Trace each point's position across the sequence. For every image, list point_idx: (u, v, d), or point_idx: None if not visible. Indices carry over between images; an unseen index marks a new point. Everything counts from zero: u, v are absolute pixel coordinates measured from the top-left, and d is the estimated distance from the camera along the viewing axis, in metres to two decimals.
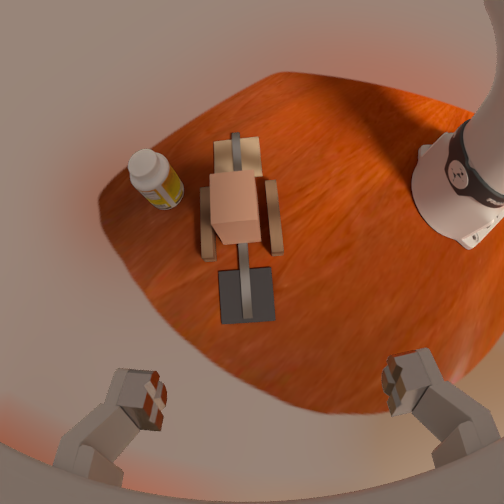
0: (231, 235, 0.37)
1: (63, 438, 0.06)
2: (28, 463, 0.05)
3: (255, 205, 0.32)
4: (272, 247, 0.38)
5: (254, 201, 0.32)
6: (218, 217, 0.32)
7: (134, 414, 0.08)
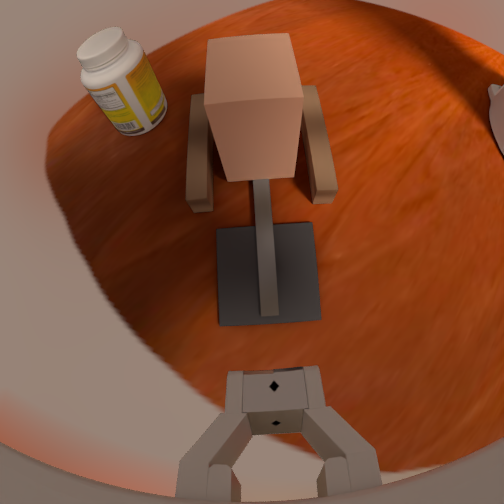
0: (243, 153, 0.19)
1: (183, 461, 0.06)
2: (28, 463, 0.05)
3: (296, 76, 0.14)
4: (317, 182, 0.20)
5: (294, 71, 0.14)
6: (219, 94, 0.14)
7: (259, 419, 0.08)
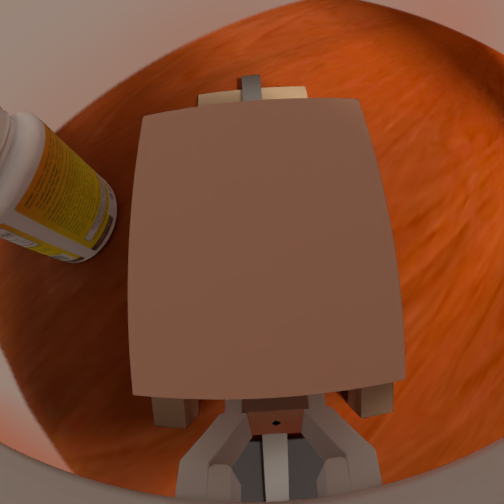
0: None
1: (183, 461, 0.06)
2: (28, 463, 0.05)
3: (394, 294, 0.05)
4: (364, 405, 0.11)
5: (387, 268, 0.05)
6: (170, 363, 0.05)
7: (259, 419, 0.08)
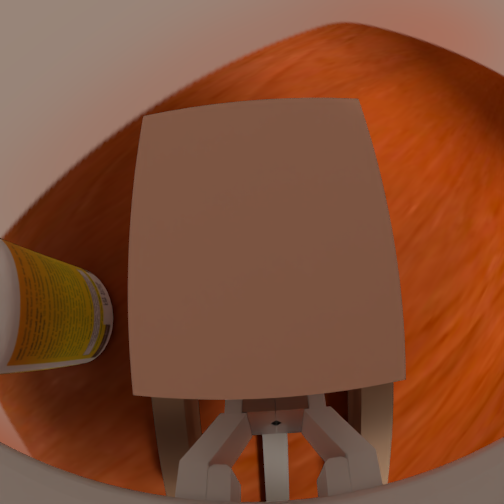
0: None
1: (182, 461, 0.06)
2: (28, 463, 0.05)
3: (394, 294, 0.05)
4: None
5: (388, 268, 0.05)
6: (170, 363, 0.05)
7: (258, 419, 0.08)
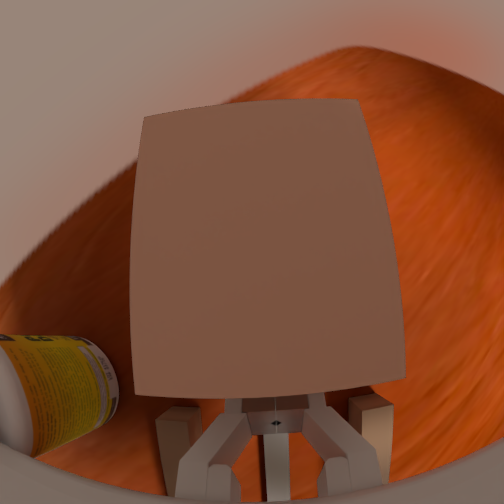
0: None
1: (182, 461, 0.06)
2: (28, 463, 0.05)
3: (394, 293, 0.05)
4: None
5: (388, 268, 0.05)
6: (172, 363, 0.05)
7: (258, 419, 0.08)
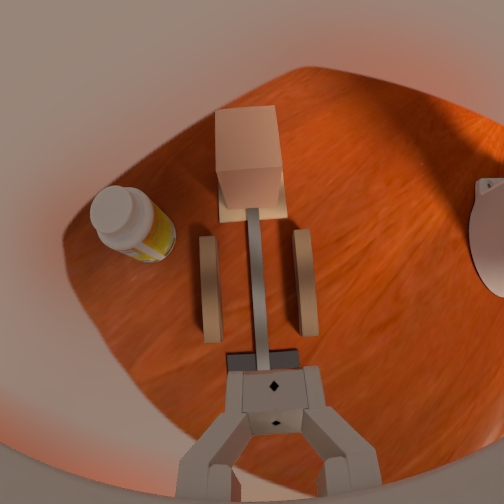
0: (241, 194, 0.27)
1: (183, 461, 0.06)
2: (28, 463, 0.05)
3: (278, 148, 0.22)
4: (303, 330, 0.27)
5: (277, 143, 0.22)
6: (226, 163, 0.22)
7: (259, 419, 0.08)
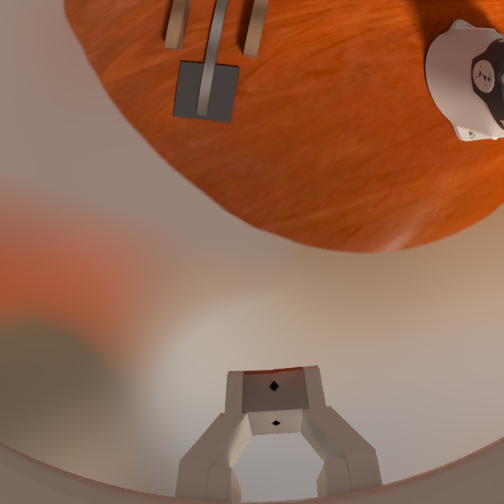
0: None
1: (183, 461, 0.06)
2: (28, 463, 0.05)
3: None
4: (245, 49, 0.27)
5: None
6: None
7: (259, 419, 0.08)
